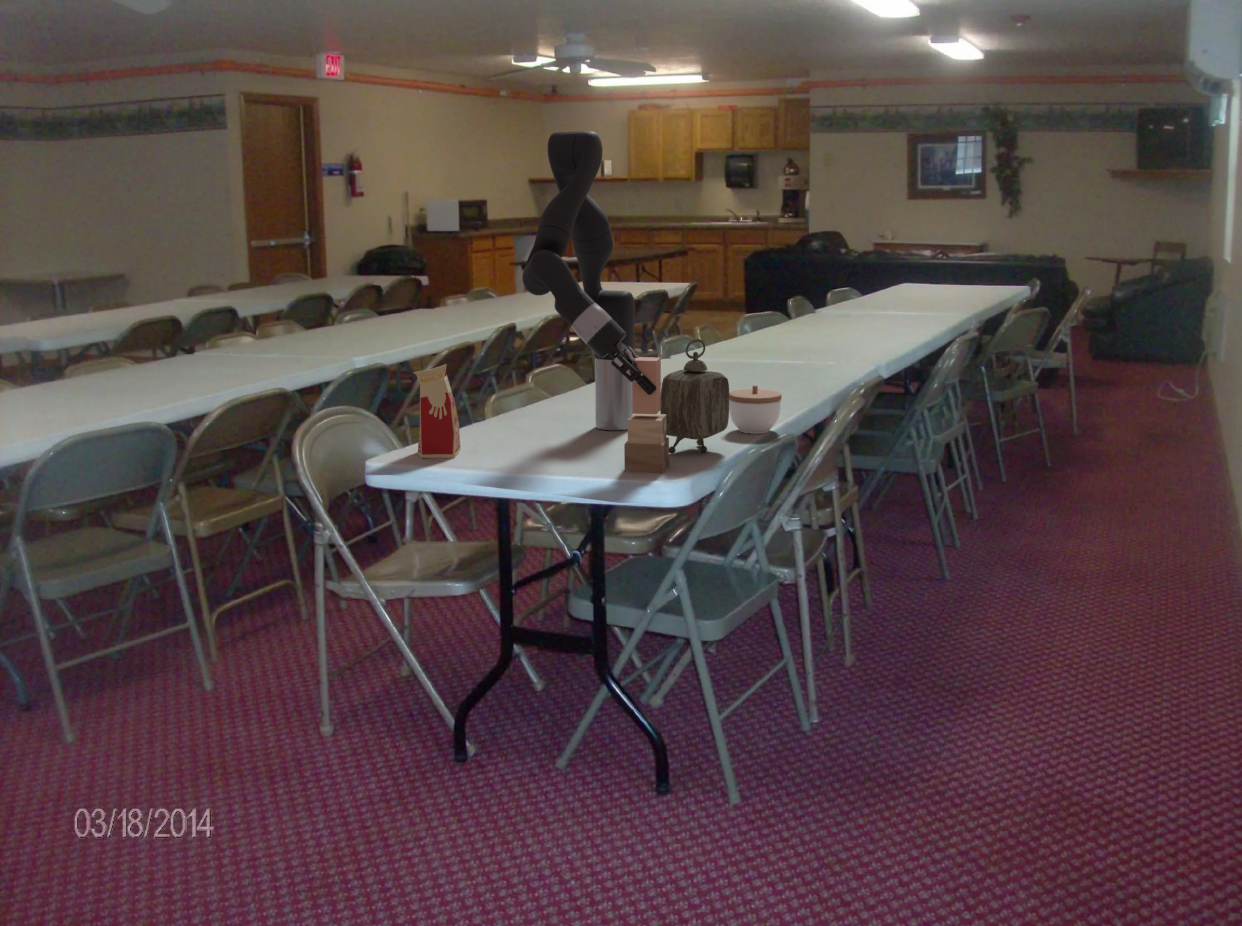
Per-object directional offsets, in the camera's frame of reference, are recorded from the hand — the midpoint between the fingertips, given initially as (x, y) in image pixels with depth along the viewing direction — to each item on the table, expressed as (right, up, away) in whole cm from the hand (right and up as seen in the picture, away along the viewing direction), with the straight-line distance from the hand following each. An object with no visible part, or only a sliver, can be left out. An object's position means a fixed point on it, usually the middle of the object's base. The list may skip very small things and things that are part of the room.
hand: (655, 389), depth 248 cm
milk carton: (-48, -13, +19) cm, 53 cm away
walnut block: (-2, -16, +4) cm, 17 cm away
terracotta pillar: (-2, -5, +1) cm, 5 cm away
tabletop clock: (+10, -13, +19) cm, 25 cm away
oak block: (-2, -11, +3) cm, 11 cm away
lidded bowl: (+25, -8, +42) cm, 49 cm away
